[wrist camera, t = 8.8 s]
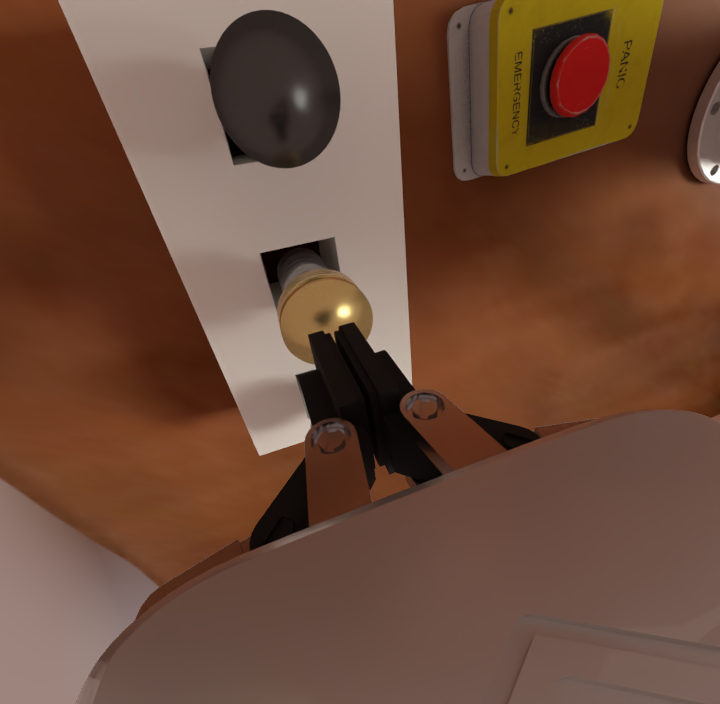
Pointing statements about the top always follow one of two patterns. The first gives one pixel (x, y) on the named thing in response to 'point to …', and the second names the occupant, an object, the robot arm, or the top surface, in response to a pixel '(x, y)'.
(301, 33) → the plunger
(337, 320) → the brass plunger
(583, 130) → the emergency button
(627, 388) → the top surface
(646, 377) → the top surface
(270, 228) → the block
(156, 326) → the top surface
